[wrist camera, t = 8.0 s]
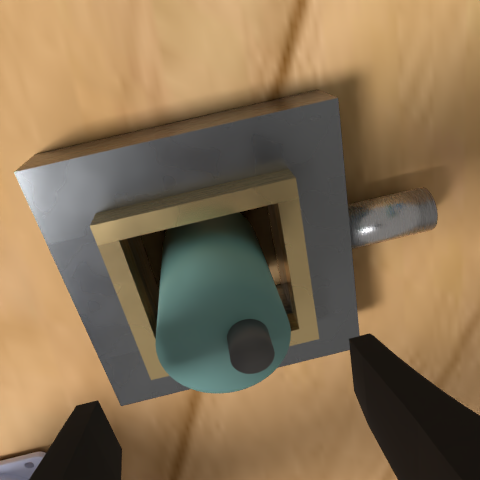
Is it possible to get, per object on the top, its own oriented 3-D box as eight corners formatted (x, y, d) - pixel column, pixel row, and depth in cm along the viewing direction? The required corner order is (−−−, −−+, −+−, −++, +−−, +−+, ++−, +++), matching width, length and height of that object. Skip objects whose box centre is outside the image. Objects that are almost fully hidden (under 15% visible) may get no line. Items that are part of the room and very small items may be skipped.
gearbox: (126, 369, 23) (117, 426, 20) (34, 154, 18) (1, 182, 14) (413, 299, 23) (452, 343, 20) (410, 68, 18) (462, 76, 15)
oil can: (176, 297, 21) (175, 429, 14) (151, 217, 19) (134, 322, 12) (264, 276, 22) (307, 396, 14) (247, 194, 20) (286, 285, 12)
